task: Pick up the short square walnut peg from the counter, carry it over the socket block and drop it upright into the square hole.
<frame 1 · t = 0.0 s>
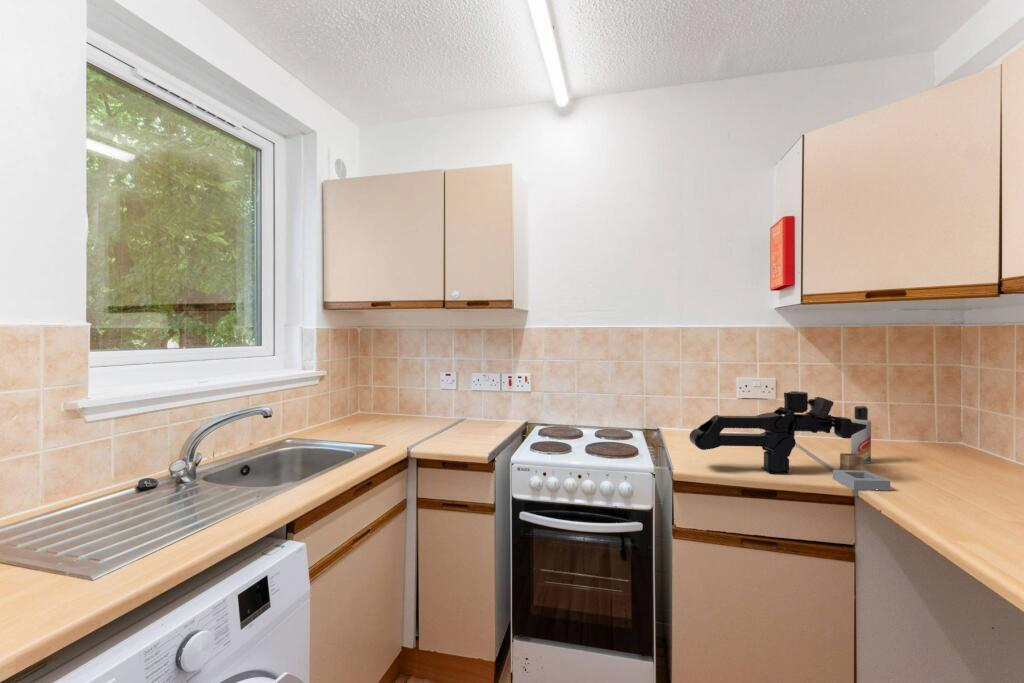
hand: (856, 423, 147), 17 cm above the worktop, tool horizontal, fingers open, 9 cm apart
socket block: (860, 484, 136), on the worktop
peg: (851, 473, 148), on the worktop
lotion bottle: (860, 462, 161), on the worktop
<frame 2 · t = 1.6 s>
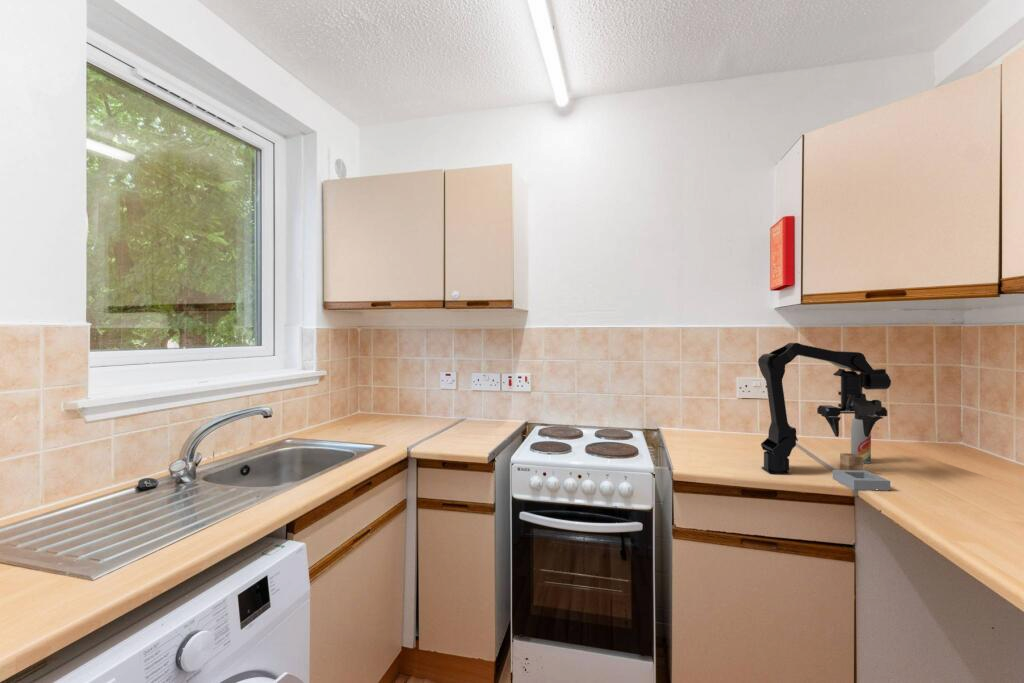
hand: (851, 436, 148), 12 cm above the worktop, tool pointing down, fingers open, 9 cm apart
nothing on the worktop moved.
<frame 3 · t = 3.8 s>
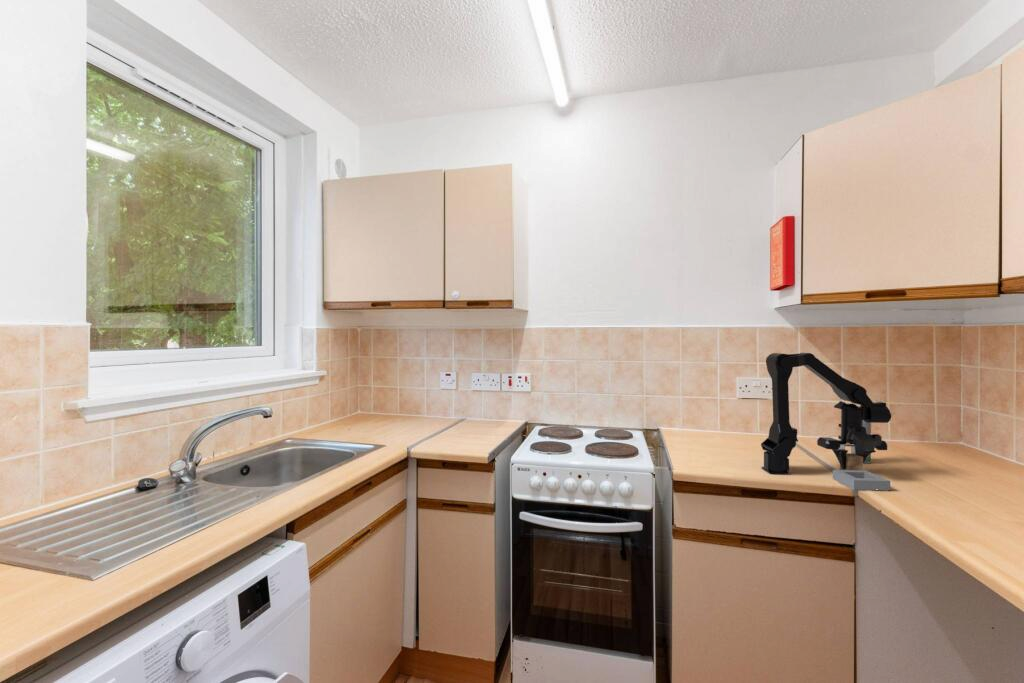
hand: (851, 469, 148), 1 cm above the worktop, tool pointing down, fingers closed on peg, 4 cm apart
peg: (851, 473, 148), on the worktop, touching gripper
everything else where it was.
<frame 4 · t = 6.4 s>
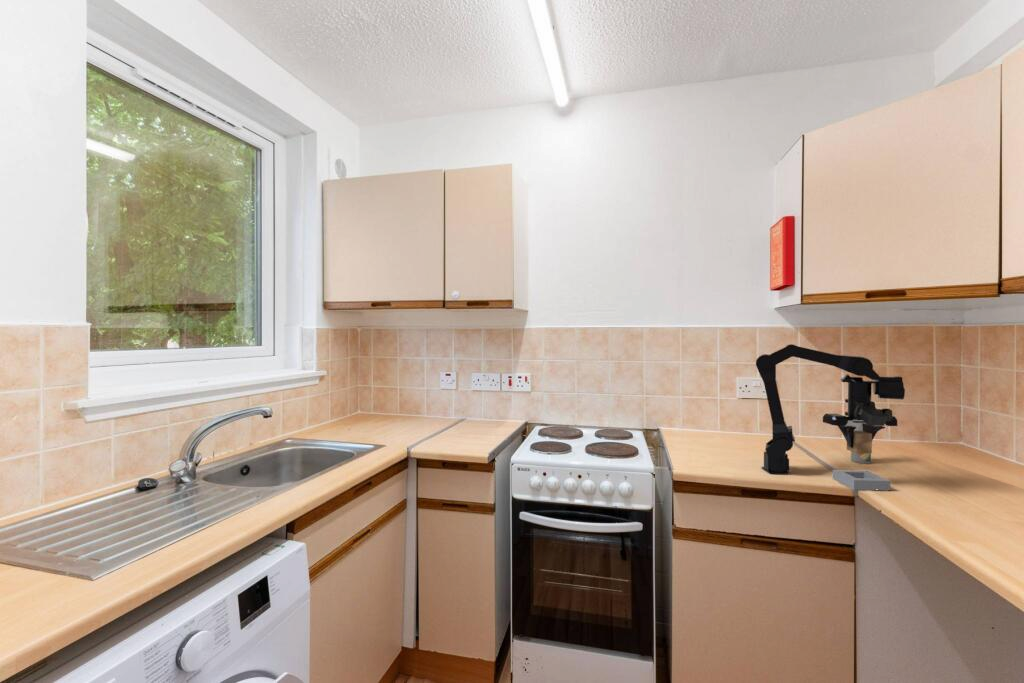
hand: (859, 447, 138), 11 cm above the worktop, tool pointing down, fingers closed on peg, 4 cm apart
peg: (859, 451, 138), point 10 cm above the worktop, touching gripper
everything else where it was.
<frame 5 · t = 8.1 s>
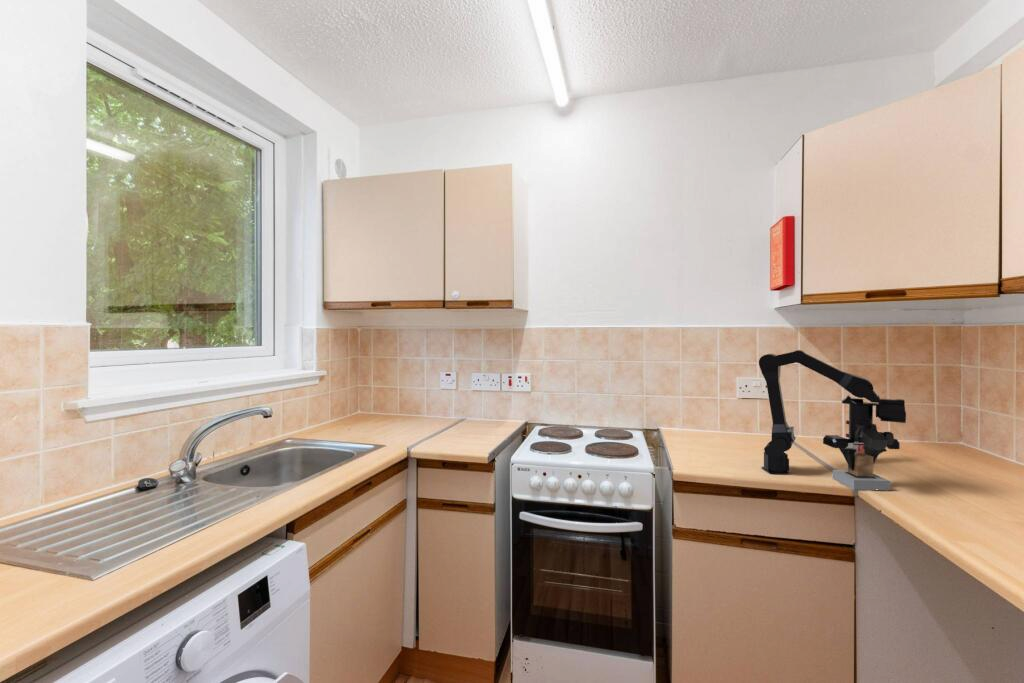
hand: (860, 470, 136), 5 cm above the worktop, tool pointing down, fingers closed on peg, 4 cm apart
peg: (860, 474, 136), point 3 cm above the worktop, touching gripper
everything else where it was.
when the fingers open (4 cm above the worktop, at t = 9.2 s): peg drops 2 cm, resting in socket block.
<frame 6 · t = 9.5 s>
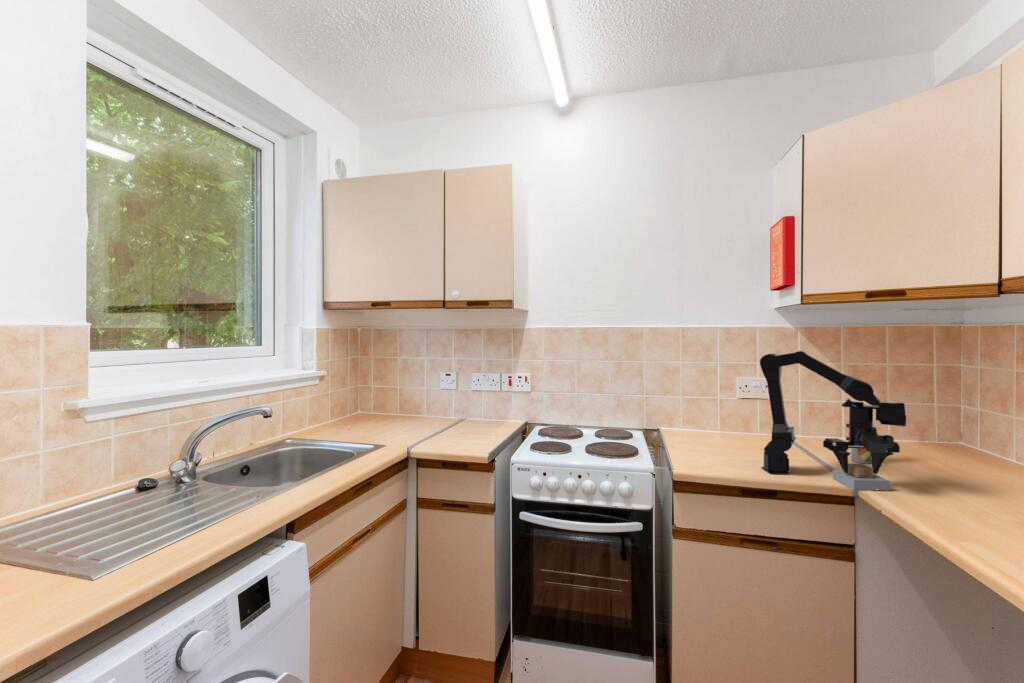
hand: (860, 473, 136), 4 cm above the worktop, tool pointing down, fingers open, 8 cm apart
peg: (860, 485, 136), resting in socket block
everything else where it was.
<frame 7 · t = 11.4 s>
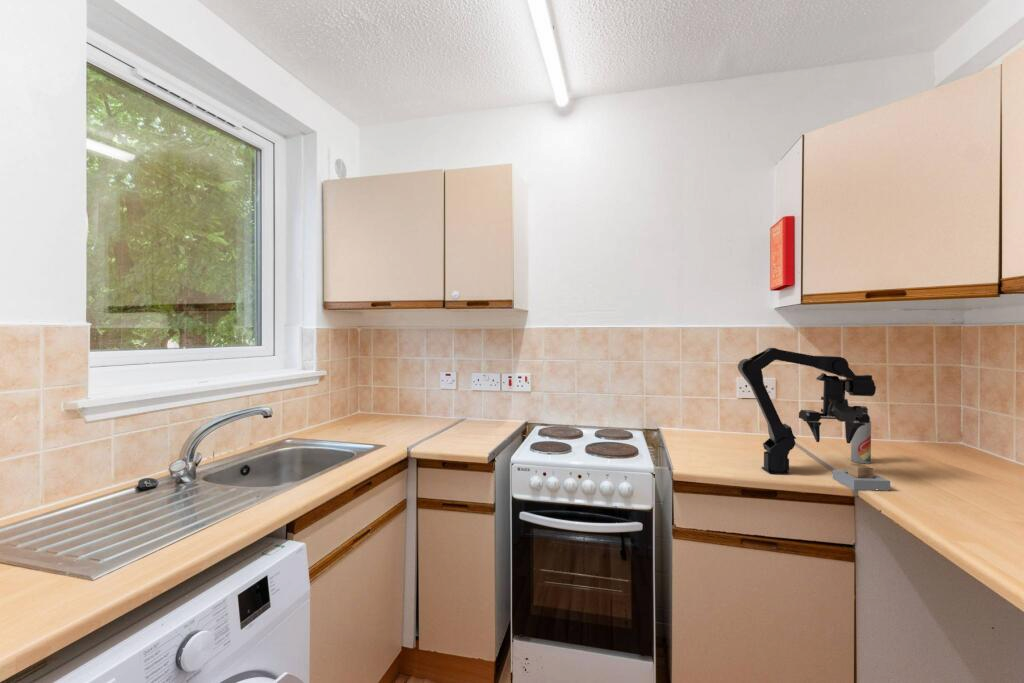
hand: (832, 442, 145), 11 cm above the worktop, tool pointing down, fingers open, 9 cm apart
nothing on the worktop moved.
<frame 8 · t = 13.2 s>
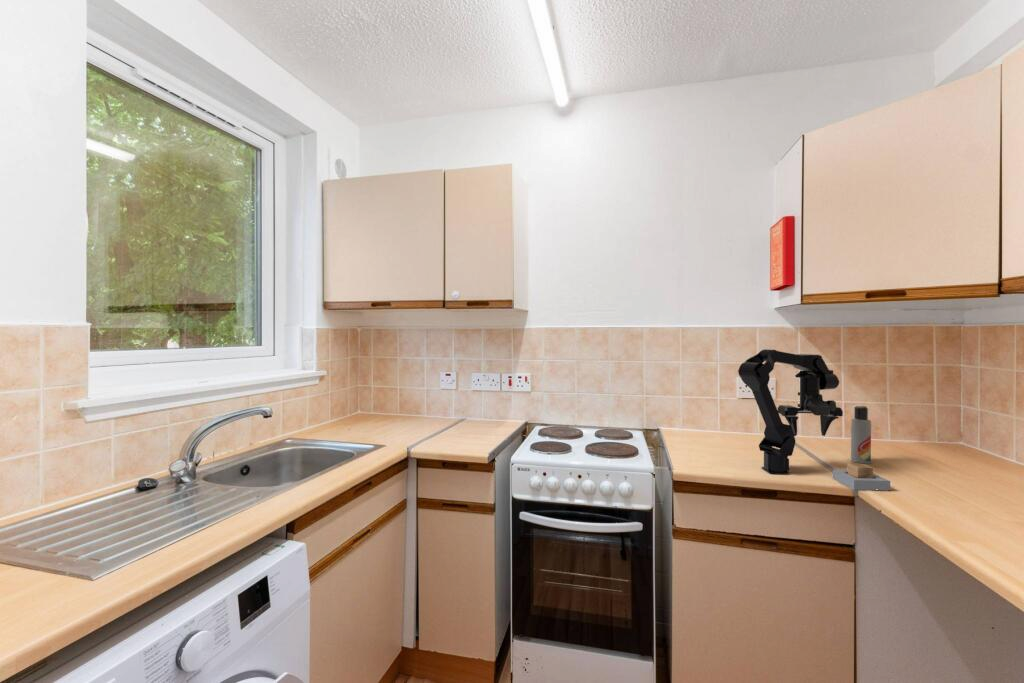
hand: (809, 435, 154), 11 cm above the worktop, tool pointing down, fingers open, 9 cm apart
nothing on the worktop moved.
at the end: peg 0.1 cm off-centre on the socket block, point 0.0 cm above the socket block's base; peg tilted 0°; the gripper is holding nothing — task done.
